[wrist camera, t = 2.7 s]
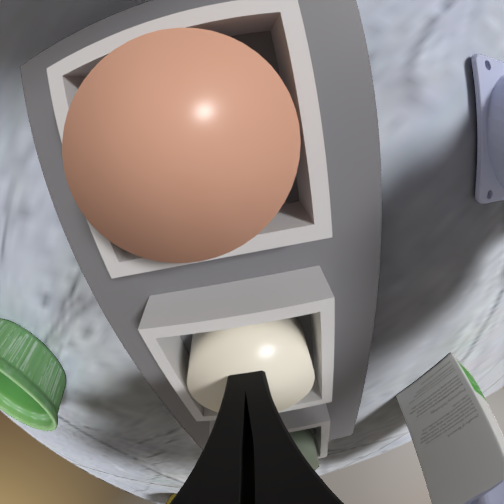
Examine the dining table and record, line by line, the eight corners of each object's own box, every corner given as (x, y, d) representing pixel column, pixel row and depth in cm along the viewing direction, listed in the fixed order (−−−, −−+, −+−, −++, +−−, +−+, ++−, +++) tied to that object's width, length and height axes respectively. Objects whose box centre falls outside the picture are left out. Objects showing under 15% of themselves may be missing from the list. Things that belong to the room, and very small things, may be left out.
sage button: (312, 419, 15) (319, 453, 13) (313, 446, 17) (318, 474, 15) (228, 431, 15) (229, 465, 13) (245, 457, 17) (246, 484, 15)
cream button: (299, 290, 11) (312, 333, 9) (306, 367, 14) (315, 405, 12) (176, 311, 11) (167, 355, 9) (209, 382, 14) (208, 421, 12)
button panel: (331, -5, 7) (373, -43, 4) (346, 415, 21) (357, 454, 17) (47, 67, 8) (-14, 66, 4) (209, 437, 21) (209, 476, 18)
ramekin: (23, 385, 18) (8, 420, 15) (-30, 311, 14) (-56, 346, 10) (92, 395, 18) (78, 440, 14) (32, 308, 14) (0, 357, 10)
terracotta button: (263, 34, 6) (276, 7, 4) (293, 203, 8) (313, 240, 6) (89, 83, 6) (42, 82, 4) (133, 236, 9) (106, 278, 6)
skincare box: (470, 372, 21) (528, 487, 7) (422, 411, 23) (465, 526, 10) (450, 349, 18) (527, 503, 4) (388, 397, 20) (440, 550, 7)
